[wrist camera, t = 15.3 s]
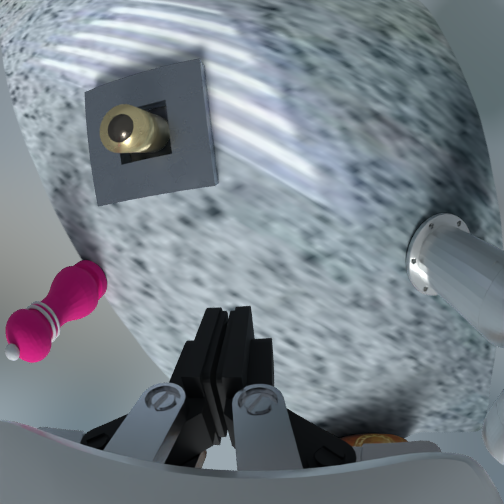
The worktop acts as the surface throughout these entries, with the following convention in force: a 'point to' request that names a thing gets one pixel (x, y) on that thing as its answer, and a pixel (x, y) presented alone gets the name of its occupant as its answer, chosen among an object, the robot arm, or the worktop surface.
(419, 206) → the worktop surface
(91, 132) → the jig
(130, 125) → the cylinder
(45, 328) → the pepper mill
